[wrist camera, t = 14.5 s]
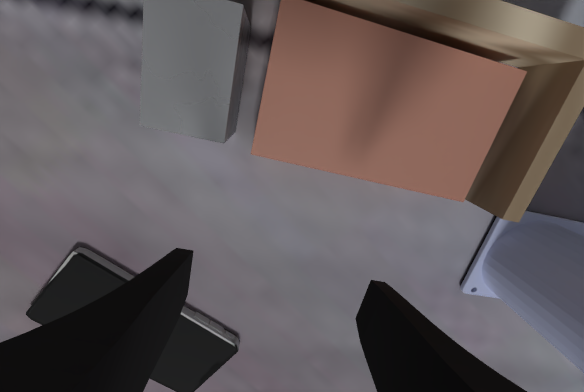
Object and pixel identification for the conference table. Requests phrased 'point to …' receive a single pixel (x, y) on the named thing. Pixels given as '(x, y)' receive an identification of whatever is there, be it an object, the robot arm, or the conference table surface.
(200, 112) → the grey rectangular block
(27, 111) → the conference table surface
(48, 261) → the conference table surface
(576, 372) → the conference table surface
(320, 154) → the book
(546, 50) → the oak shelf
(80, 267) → the smartphone
